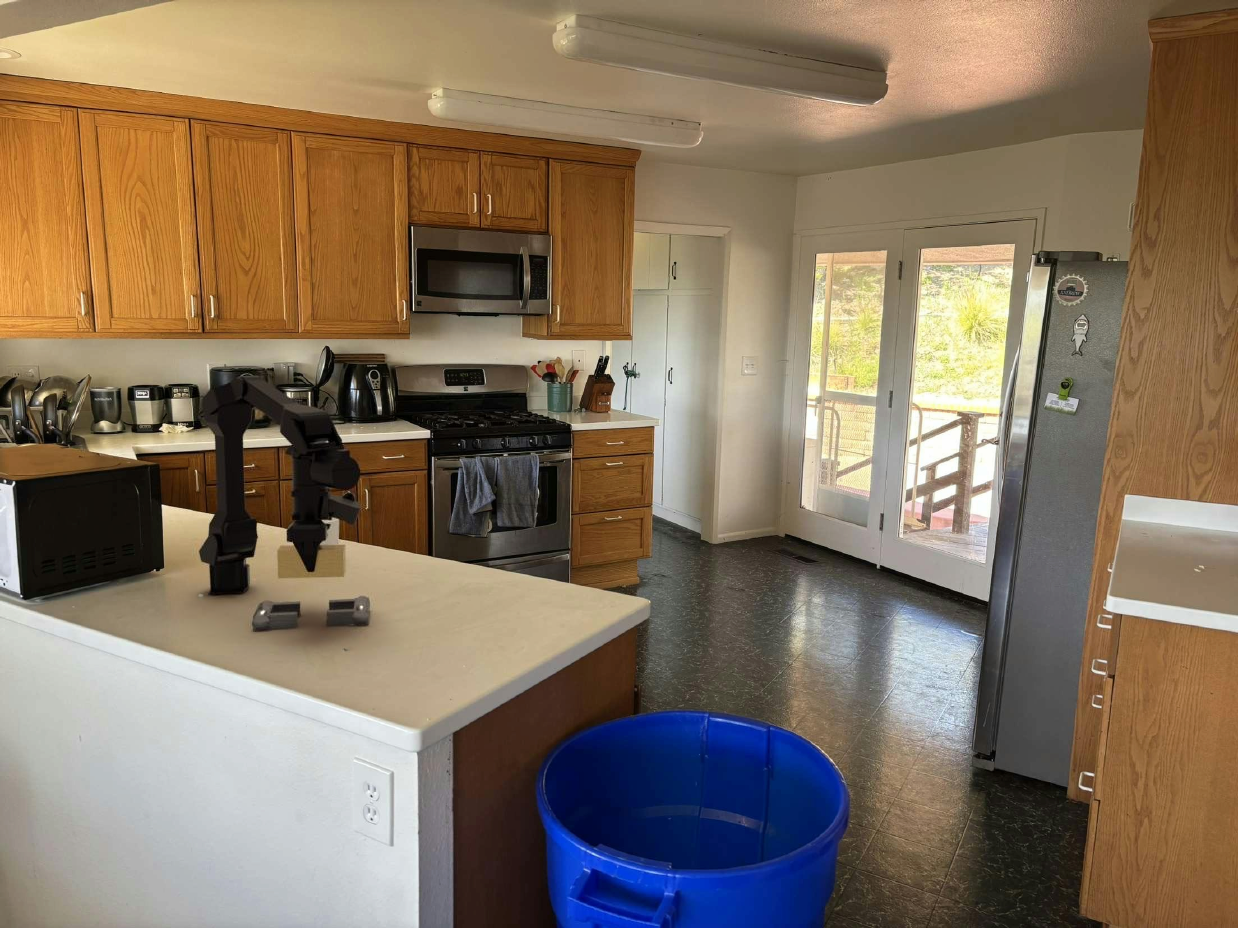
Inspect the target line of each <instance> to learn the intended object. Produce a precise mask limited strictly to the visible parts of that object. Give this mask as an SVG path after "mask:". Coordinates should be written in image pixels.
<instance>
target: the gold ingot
mask: <svg viewBox="0 0 1238 928" xmlns="http://www.w3.org/2000/svg"><path fill="white" fill-rule="evenodd" d="M276 552H277V554H276V555H277V556H276V557H277V579H304V578H305V579H307V578H309V579H310V578H311V579H313V578H315V579H316V578H319V579H320V578H343V577H345V574H346V573H347V572H346V571H347V568H346V564H347V563H346V559H347V557H346V544H338V545H319V548H318V553H317V559H316V565H315V570H314V572H308V571H307V570H306V568H305V566H304V564H303V562H302V560H301V558H300V556H299V554H298V552H297V550H296V548H295V546H294V544H293V545H280V546H279V547H278V549H277V551H276Z"/></svg>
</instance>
